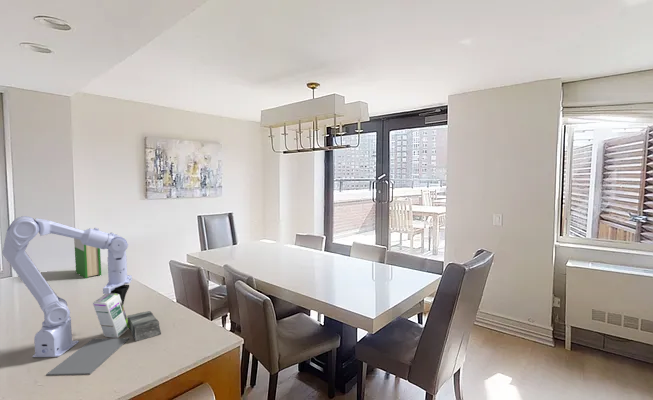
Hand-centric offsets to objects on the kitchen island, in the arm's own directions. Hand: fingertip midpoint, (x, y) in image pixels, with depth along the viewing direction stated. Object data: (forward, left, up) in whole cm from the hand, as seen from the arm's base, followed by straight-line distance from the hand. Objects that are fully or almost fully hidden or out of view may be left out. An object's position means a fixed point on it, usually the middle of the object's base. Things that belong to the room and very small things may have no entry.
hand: (119, 306), depth 120 cm
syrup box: (-2, 0, -9) cm, 9 cm away
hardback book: (+73, +58, -10) cm, 93 cm away
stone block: (+1, -8, -10) cm, 13 cm away
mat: (-16, 0, -9) cm, 18 cm away
